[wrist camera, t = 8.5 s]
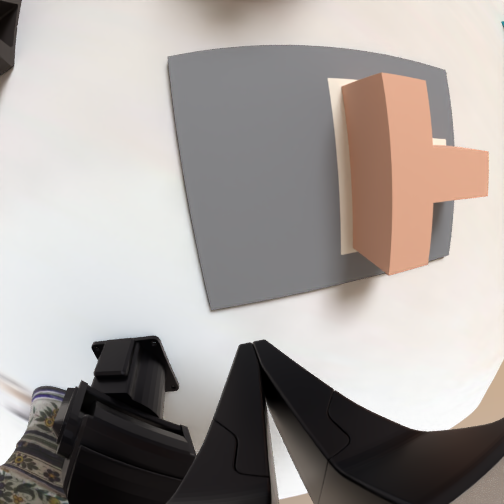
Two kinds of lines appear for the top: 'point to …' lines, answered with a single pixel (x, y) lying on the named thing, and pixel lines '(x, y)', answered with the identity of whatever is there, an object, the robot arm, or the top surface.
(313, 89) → the mat
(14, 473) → the vase
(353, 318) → the top surface
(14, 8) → the phone stand
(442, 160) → the t block
